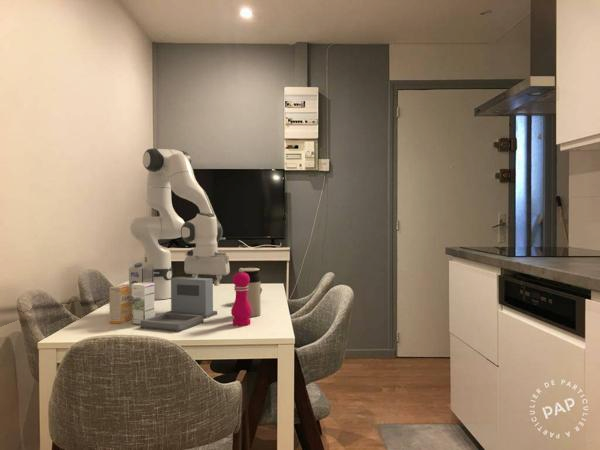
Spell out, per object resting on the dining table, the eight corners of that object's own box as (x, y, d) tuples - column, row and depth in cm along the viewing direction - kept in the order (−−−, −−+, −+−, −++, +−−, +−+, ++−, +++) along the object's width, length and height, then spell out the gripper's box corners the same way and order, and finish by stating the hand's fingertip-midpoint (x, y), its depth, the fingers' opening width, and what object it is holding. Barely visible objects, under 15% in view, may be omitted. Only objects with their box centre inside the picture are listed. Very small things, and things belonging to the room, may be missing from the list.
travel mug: (252, 318, 164) (251, 270, 163) (235, 316, 168) (235, 269, 168) (264, 314, 170) (264, 268, 170) (248, 312, 175) (248, 267, 174)
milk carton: (154, 310, 179) (153, 262, 179) (142, 313, 173) (141, 263, 173) (141, 309, 182) (140, 261, 182) (128, 312, 176) (128, 262, 176)
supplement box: (121, 323, 156) (120, 287, 156) (109, 323, 157) (108, 287, 157) (134, 318, 164) (133, 284, 164) (122, 318, 165) (122, 283, 165)
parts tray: (140, 327, 150) (140, 320, 150) (167, 319, 163) (167, 312, 163) (179, 332, 144) (179, 324, 144) (203, 322, 157) (203, 315, 157)
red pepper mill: (232, 322, 158) (231, 266, 158) (252, 321, 159) (251, 266, 158) (230, 326, 151) (230, 269, 151) (251, 326, 151) (251, 268, 151)
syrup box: (155, 321, 159) (155, 282, 159) (144, 325, 153) (144, 284, 153) (142, 320, 161) (142, 281, 160) (131, 324, 155) (131, 283, 155)
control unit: (166, 315, 170) (166, 278, 170) (179, 311, 178) (179, 276, 178) (205, 318, 164) (205, 280, 164) (217, 314, 171) (217, 278, 171)
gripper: (232, 251, 179) (232, 285, 179) (190, 250, 187) (191, 282, 187) (224, 252, 173) (224, 287, 174) (181, 251, 181) (182, 285, 181)
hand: (207, 285), depth 180 cm, fingers open, 8 cm apart
